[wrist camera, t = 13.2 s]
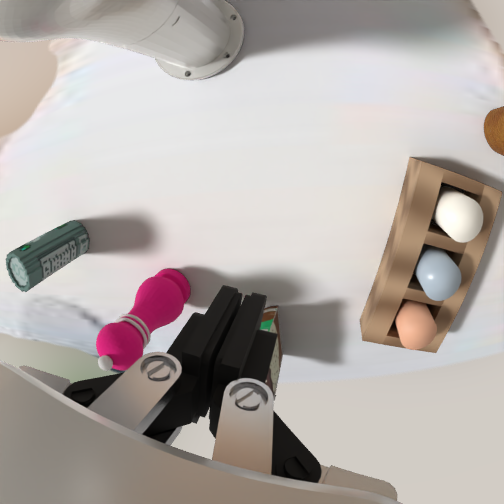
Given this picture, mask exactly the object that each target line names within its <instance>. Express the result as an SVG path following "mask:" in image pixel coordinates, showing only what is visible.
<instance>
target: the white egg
mask: <svg viewBox="0 0 504 504" xmlns="http://www.w3.org/2000/svg"><path fill="white" fill-rule="evenodd" d="M432 220H433V221H434V222H435V223H437V224H438V225H439V226H440V227H441V228H442V229H443V230H444V231H445V232H446V233H447V234H448V235H449V236H450V237H451V238H452V239H454V240H455V241H457V242H462V243H464V242H468V241H471V240H472V239H474V238H475V237H476V236H477V235H478V233H479V232H480V230H481V228H482V224H483V212H482V209H481V207H480V205H479V204H478V203H477V202H476V201H475V200H473V199H471V198H469V197H468V196H466V195H464V194H462V193H460V192H458V191H457V190H455V189H453V188H451V187H441V188H440V190H439V193H438V197H437V201H436V204H435V208H434V211H433V215H432Z"/></svg>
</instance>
